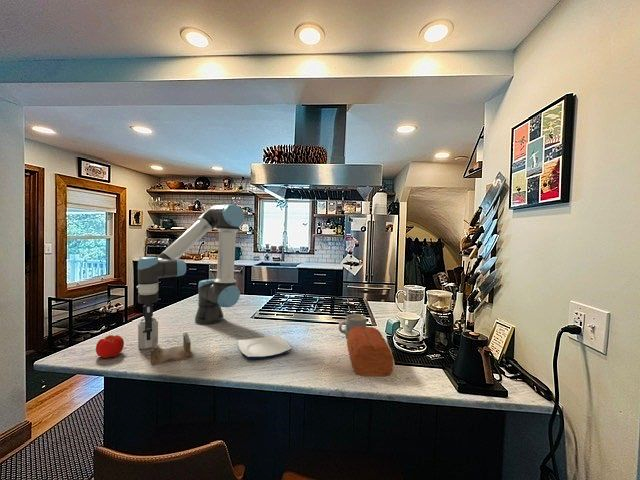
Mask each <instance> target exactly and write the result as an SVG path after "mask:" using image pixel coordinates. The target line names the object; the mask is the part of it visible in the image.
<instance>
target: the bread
mask: <svg viewBox="0 0 640 480" xmlns="http://www.w3.org/2000/svg"><path fill="white" fill-rule="evenodd" d="M346 346H347V351H348V355H349V359H350V364H351V367H352V369H353V370H354V372H355V373H356V375H359V376H364V377H387V376H390V375H391V373H392V372H393V370H394V369H393V367H394V357H393V355H392V353H391V352H392V350H391V349H390V347H389V346H388V344H387V342H386V339H385V337H383V335H382V333H381V332H380V330H379V329H377V328H375V327H373V326H366V327H365V328H364V327H354V328H352V329H351V330H350V332H349V335H348V337H347V339H346Z"/></svg>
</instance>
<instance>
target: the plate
mask: <svg viewBox="0 0 640 480" xmlns="http://www.w3.org/2000/svg"><path fill="white" fill-rule="evenodd" d="M237 344H238V350H239V351H240V352H241V354H242V355H243V356H244V357H245V358H247V359H249V360H250V359H254V360H255V359H266V358H272V357H275V356H276V357H277V356H281V355H283V354H286V353H289V352H290V351H292V350H293V349H292V346H290V345H289V344H288V343H287V342H286V341H285V339H283V338H282V337H281V336H280V335H279V334H277V333H276V334H273V335H272V334H271V335H268V336H263V337H257V338H250V339H249V338H248V339H239V340H237Z"/></svg>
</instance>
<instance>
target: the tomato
mask: <svg viewBox="0 0 640 480" xmlns="http://www.w3.org/2000/svg"><path fill="white" fill-rule="evenodd" d="M124 346H125V342H124V339H123V337H122V336H121V335H119V334H118V335H112V334H110V335H107V336H105V337H104V338H100V339H99V340H98V341H97V343H96V345H95V353H96V355H97V356H98V357H101V358H104V359H109V358H115V357H117V356H118V355H120V354H121V353H122V351H123V350H124Z"/></svg>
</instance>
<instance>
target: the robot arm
mask: <svg viewBox="0 0 640 480" xmlns="http://www.w3.org/2000/svg"><path fill="white" fill-rule="evenodd" d="M196 220H197V221H196V222H195V223H194V224H192V225H191V226H190V227H189V228H188V229H187V230H186V231H185V232H183V234H181V235H180V236H179V237H178V238H177V239H175V240H174V241H173V242H172V243H171V244H170V245H169V246H168V247H166V248H165V250H163V251H162V252H161V253H160V254H159V255H157V256H144V257H139V258H138V261H137V284H138V285H136V289H137V290H138V291H137V293H138V295H137V303H138V304H144V305H143V306H142V312H143V319H145V331H143V333H145V348H148V347H152V318H153V316H154V303H157V302H158V301H159V293H158V292H159V279H162V278H171V277H181V276H184V275H185V274H186V272H187V263H186V261H185V260H183V259H180V258H181V257H182V256H183V255H184V254H185V253H186V252H187V251H188V250H189V249H191V248H192V247H193V246H194V245H195V244H196V243H197V242H199V240H201V238H203V237H204V236H205V235H206V234H207V233H208V232H212V231H213V230H214V229H216V230H217V231H218V247H217V266H216V267H217V268H216V277H215V278H213V279H203V280H200V281H199V282H198V289H197V290H198V299H197V301H198V307H197V310H196V314H195V316H194V323H195V324H197V325H215V324H218V323H221V322H223V321H224V319H225V318H224V317H225V316H224V312H223V309H222V308H231V307H234V306H235V305H236V303H238V301H239V299H240V295H241V291H240V289H239V287H238V286H237V279H235V277H234V276H235V261H236V259H235V257H236V242H237V241H236V238H237V233H238V232H239V231H240V226H241V225H242V224H243V223H244V221H245V214H244V211H243V209H242V208H241V207H240V206H238V205H237V204H233V203H226V204H225V203H224V204H215V205H212V206H211V207H210V208H207V210H205V211H204V212H203V213H202V214H200V216H198V217H197V218H196ZM148 328H150V329H148Z"/></svg>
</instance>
